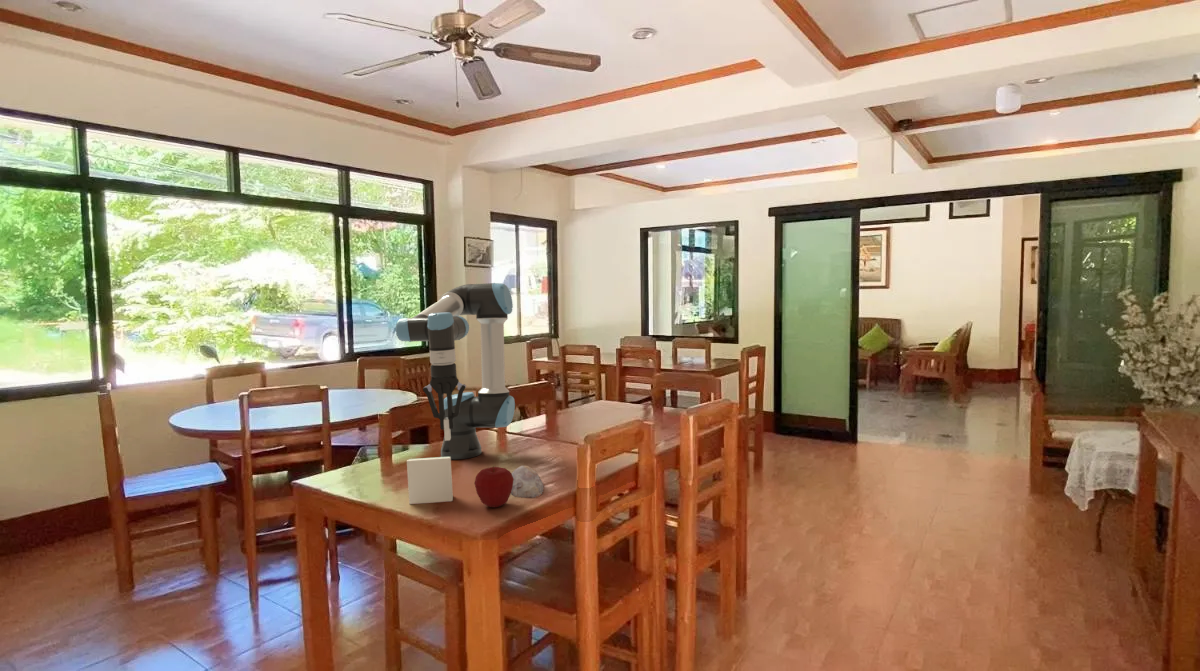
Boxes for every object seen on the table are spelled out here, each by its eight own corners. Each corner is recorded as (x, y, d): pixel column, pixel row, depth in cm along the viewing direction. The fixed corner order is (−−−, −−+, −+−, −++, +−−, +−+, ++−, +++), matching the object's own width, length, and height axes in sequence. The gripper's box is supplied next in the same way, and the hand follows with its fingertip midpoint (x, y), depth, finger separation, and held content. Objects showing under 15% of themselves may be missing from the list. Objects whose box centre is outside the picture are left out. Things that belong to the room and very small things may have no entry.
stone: (532, 516, 189) (554, 490, 190) (507, 496, 186) (530, 470, 188) (522, 499, 205) (543, 475, 207) (499, 480, 203) (520, 456, 204)
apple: (472, 513, 177) (470, 472, 176) (479, 500, 188) (477, 461, 187) (512, 511, 177) (510, 470, 176) (516, 499, 188) (515, 460, 187)
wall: (410, 502, 188) (407, 459, 187) (452, 499, 189) (450, 457, 188) (409, 504, 186) (406, 460, 185) (452, 501, 188) (450, 458, 187)
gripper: (419, 366, 188) (424, 444, 190) (463, 364, 189) (468, 441, 191) (423, 362, 195) (428, 437, 197) (466, 360, 196) (470, 435, 199)
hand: (447, 439), depth 194 cm, fingers closed
